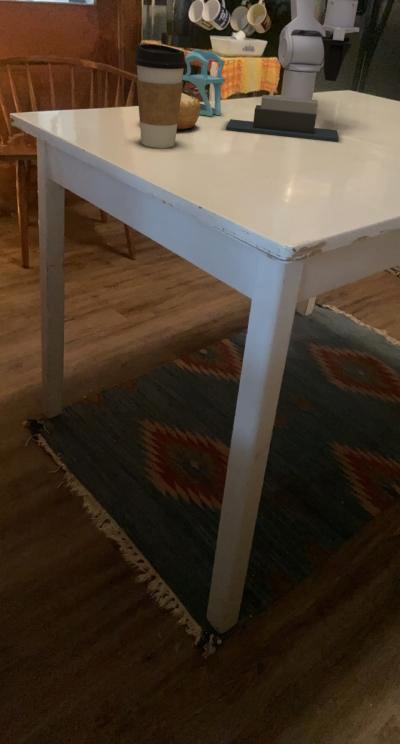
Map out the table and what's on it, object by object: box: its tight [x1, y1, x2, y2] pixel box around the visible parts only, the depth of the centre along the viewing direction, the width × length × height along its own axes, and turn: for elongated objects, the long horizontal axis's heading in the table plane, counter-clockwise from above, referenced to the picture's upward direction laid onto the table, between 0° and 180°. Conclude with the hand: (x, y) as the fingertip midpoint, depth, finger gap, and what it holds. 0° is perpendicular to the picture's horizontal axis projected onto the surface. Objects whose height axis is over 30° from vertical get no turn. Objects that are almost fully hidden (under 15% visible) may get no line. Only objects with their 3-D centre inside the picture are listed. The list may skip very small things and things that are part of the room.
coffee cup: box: [134, 43, 187, 149], centre depth 101 cm, size 8×8×15 cm
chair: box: [182, 48, 226, 117], centre depth 129 cm, size 8×8×12 cm
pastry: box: [177, 92, 201, 130], centre depth 116 cm, size 12×12×9 cm
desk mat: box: [225, 118, 340, 143], centre depth 121 cm, size 8×22×1 cm, turn 81°
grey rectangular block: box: [252, 94, 319, 134], centre depth 119 cm, size 12×4×6 cm, turn 81°
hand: (329, 78), depth 123 cm, fingers open, 7 cm apart
